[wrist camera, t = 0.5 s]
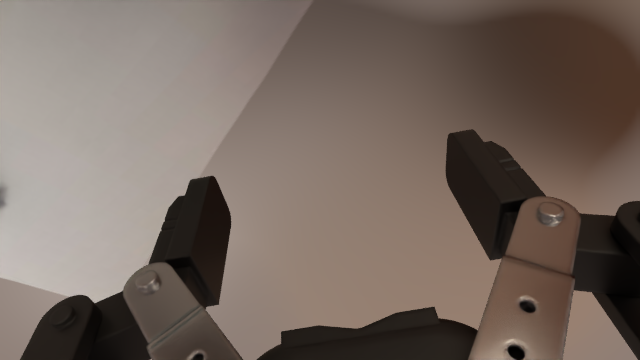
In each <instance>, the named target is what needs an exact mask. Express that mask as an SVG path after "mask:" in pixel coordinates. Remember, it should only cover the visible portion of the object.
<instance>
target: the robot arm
mask: <svg viewBox="0 0 640 360" xmlns="http://www.w3.org/2000/svg"><path fill="white" fill-rule="evenodd" d="M446 178H447V183H448V186H449V188H450V190H451V191H452V193H453V195H454V197H455V198H456V200H457V202H458V204H459V206H460V208H461V209H462V211H463V213H464V214H465V216H466V218H467V220H468V222H469V224H470V225H471V227H472V229H473V231H474V232H475V234H476V236H477V238H478V240H479V241H480V243H481V245H482V247H483V249H484V250H485V252H486V254H487V256H488V257H489V259H490V260H495V259H501V258H502V260H501V263H500V265H499V268H498V271H497V275H496V277H495V280H494V283H493V287H492V289H491V293H490V295H489V298H488V301H487V304H486V308H485V311H484V313H483V317H482V320H481V323H480V326H479V329H478V330H476V329H474V328H472V327H470V326H468V325H465V324H463V323H459V322H456V321H452V320H447V319H439V318H438V316H437V313H436V310H435V307H429V308H423V309H417V310H411V311H405V312H399V313H395V314H392V315H390V316H388V317H385V318H383V319H381V320H379V321H376V322H374V323H372V324H369V325H367V326H365V327H362V328H358V329H352V328H340V327H328V326H313V327H307V328H300V329H295V330H289V331H282V332H281V344H280V345H278V346H276V347H274V348H273V349H270V350H269V351H267V352H266V353H264V354H263V355H262V356H260V357H259V358H258V359H257V360H563V353H564V347H565V341H566V334H567V328H568V322H569V316H570V310H571V303H572V296H573V291H574V290H578V291H587V292H592V293H593V295H594V296H595V298H596V299H597V300H598V302H599V304H600V305H601V306H602V308H603V309H604V311H605V312H606V314H607V315H608V317H609V318H610V319H611V321H612V322H613V324H614V325H615V327H616V328H617V329H618V331H619V333H620V334H621V335H622V337H623V338H624V340H625V341H626V343H627V344H628V346H629V347H630V348H631V350H632V351H633V353H634V354H635V356H636V357H637V359H638V360H640V201H633V202H628V203H625V204H623V205H621V206H620V207H619V209H618V211H617V213H616V215H615V216H608V215H592V214H581V213H579V212H578V211H577V210H576V209H575V208H574V207H573V206H572V205H570V204H569V203H567V202H565V201H563V200H560V199H557V198H554V197H546V195H545V194H544V193H543V192H542V191H541V190H540V189H539V187H538V186H537V185H536V184H535V183H534V181H533V180H532V179H531V178H530V177H529V176H528V175H527V173H526V172H525V171H524V170H523V169H521V168H520V165H519V164H518V163H517V162H516V161H515V160H514V159H513V157H512V156H511V155H510V154H509V153H508V151H507V150H506V149H505V148H503V147H501V146H499V145H497V144H496V143H494V142H492V141H489V142H483V141H482V139H481V138H480V137H479V135H478V134H477V133H476V132H475V131H474V130H466V131H460V132H455V133H450V134H449V135H448V139H447V155H446ZM230 229H231V216H230V211H229V208H228V206H227V203H226V201H225V199H224V196H223V194H222V192H221V190H220V187H219V185H218V183H217V180H216V179H215V177H214V176H208V177H203V178H197V179H192V180H190V182H189V185H188V188H187V191H186V194H185V196H179V197H178V198H177V199H176V200H175V201H174V202H173V204H172V205H171V206H170V207H169V209H168V211H167V214H166V217H165V222H164V223H163V225H162V228H161V230H162V231H160V234H159V236H158V239H157V242H156V245H155V247H154V250H153V253H152V256H151V259H150V261H149V264H148V265H146V266H144V267H143V268H141V269H139V270H138V271H136V272H135V273H134V274H133V275H132V276H131V277H130V278H129V280H128V281H127V282H126V284H125V286H124V289H123V291H122V292H120V293H118V294H115V295H113V296H111V297H108V298H106V299H104V300H101V301H99V302H97V303H93V301H92V300H91V299H90V298H89V297H87V296H84V295H76V296H72V297H69V298H66V299H64V300H62V301H61V302H59V303H57V304H56V305H55V306H53V307H52V308H51V309H50V310H49V311H48V312H47V313H46V314H45V315H44V316H43V317H42V319H41V320H40V322H39V324H38V326H37V328H36V330H35V332H34V333H33V335H32V338H31V339H30V342H29V344H28V345H27V347H26V349H25V351H24V353H23V355H22V357H21V359H20V360H150V359H152V360H243V359H242V357H241V356H240V355H239V353H238V352H237V351H236V349H235V348H234V347H233V346H232V344H231V343H230V341H229V340H228V339H227V338H226V336H225V335H224V333H223V332H222V331H221V330H220V328H219V327H218V326H217V324H216V323H215V322H214V320H213V319H212V318H211V316H210V315H209V314H208V312H207V311H206V307H207V306H214V305H219V299H220V293H221V286H222V280H223V274H224V267H225V261H226V254H227V248H228V242H229V235H230Z"/></svg>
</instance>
